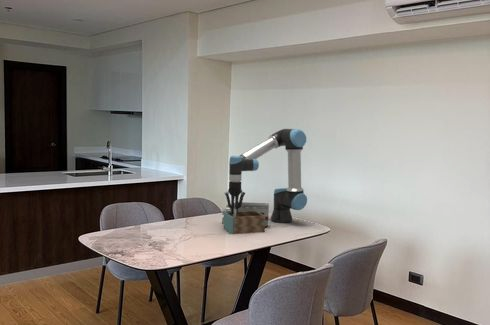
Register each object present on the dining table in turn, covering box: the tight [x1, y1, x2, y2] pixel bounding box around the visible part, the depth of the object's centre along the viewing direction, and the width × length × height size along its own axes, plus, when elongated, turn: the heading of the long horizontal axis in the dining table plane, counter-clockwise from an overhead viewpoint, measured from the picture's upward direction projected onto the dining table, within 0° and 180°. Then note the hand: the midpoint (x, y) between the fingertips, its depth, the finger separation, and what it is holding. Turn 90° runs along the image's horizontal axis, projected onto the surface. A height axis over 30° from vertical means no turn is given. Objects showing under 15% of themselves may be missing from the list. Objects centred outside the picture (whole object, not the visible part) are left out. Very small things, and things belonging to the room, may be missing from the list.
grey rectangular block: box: [221, 201, 270, 227], centre depth 293 cm, size 8×30×15 cm, turn 84°
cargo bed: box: [226, 211, 266, 235], centre depth 275 cm, size 20×16×12 cm
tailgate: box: [223, 212, 234, 235], centre depth 271 cm, size 1×16×10 cm, turn 19°
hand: (234, 219), depth 272 cm, fingers closed
